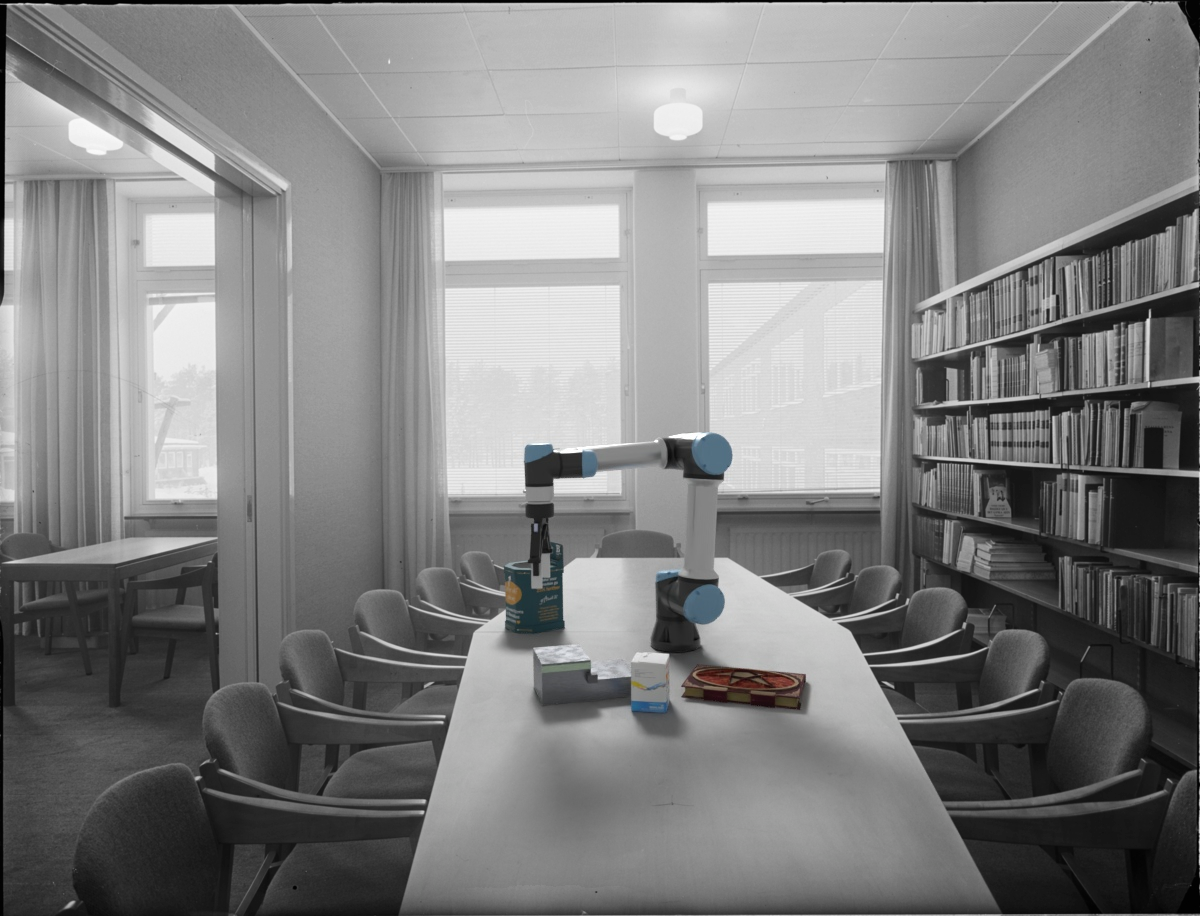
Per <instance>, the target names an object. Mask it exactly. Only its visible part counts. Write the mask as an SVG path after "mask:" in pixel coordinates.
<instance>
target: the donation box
mask: <svg viewBox="0 0 1200 916" xmlns="http://www.w3.org/2000/svg"><path fill="white" fill-rule="evenodd" d="M550 545H551V549H552V550H553V552H552V553H550V578H542V587H543V588H542V589H532V587H531V563H528V560H521V561H514V562H508V563H507V564H505V565H503V574H504V588H505V589H504V590H505V591H504V592H505V594H504V596H505V620H504V628H505V629H506V630H508V631H510V632H513V633H515V634H529V635H530V634H532V635H535V634H539V633H540V634H541V633H546V632H550V631H554V630H560V629H565V625H566V624H565V623H566V622H565V620H564V589H563V588H564V582H563V579H564V578H563V577H564V575H563V573H564V571H565V569H564V566H565V565H564V546H563V544H562V543H559V542H555V541H551V540H550Z"/></svg>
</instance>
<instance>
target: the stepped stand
mask: <svg viewBox="0 0 1200 916" xmlns="http://www.w3.org/2000/svg"><path fill="white" fill-rule="evenodd" d="M532 656H533V657H532V659H533V666H532V667H533V687H534V690H535V692H536V695H537V696H538V699H539V701H540V704H541V705H542V706H543V707H544V706H551V705H561V704H571V703H580V702H590V701H591V702H592V701H601V700H602V701H603V700H609V699H611V700H612V699H620V698H631V665H629V664H628V663H627V661H626V660H625V659H624V658H620V659H617V658H616V659H610V660H609V659H608V660H597V661H591V658H590V657H589V656H588V655H587V653H586V651H585V650H584V649H583V648H582V646H581V645H580V644H579V643H574V644H561V645H552V646H551V645H550V646H539V647H532Z"/></svg>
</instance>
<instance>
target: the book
mask: <svg viewBox="0 0 1200 916" xmlns="http://www.w3.org/2000/svg"><path fill="white" fill-rule="evenodd" d="M806 682H807V674H806V673H800V672H799V673H797V672H786V671H777V670H766V669H754V668H745V667H744V668H743V667H734V666H733V667H732V666H731V667H730V666H721V665H718V666H717V665H709V664H696V665H695V667H694V668H693V669H692V670H691V671H690V673H689V675H687V678H686V679H685V680H684V682H683V683H682V684H681V685H680V687H681V688H684V692H683V694H682V695H681V698H683V699H684V698H685V699H696V700H703V701H705V702H715V703H723V704H727V703H731V704H740V705H750V706H753V707H762V708H771V709H776V708H778V709H790V710H797V711H798V710H799V711H800V710H801V707H802V702H801V701H800V699H801V697H802V691H803V687H804V684H806Z"/></svg>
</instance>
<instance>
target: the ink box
mask: <svg viewBox="0 0 1200 916" xmlns="http://www.w3.org/2000/svg"><path fill="white" fill-rule="evenodd" d="M630 667H631V697H630V705H631V706H630V709H631V710H630V711H632V712H645V713H665V714H666V713H667V710H668V707H669V705H670V699H671V698H670V697H671V696H670V691H671V690H670V653H663V652H662V653H661V652H647V651H645V652H638V651H637V652H635V654H634V656H633V657H632V660H631V661H630Z"/></svg>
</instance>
